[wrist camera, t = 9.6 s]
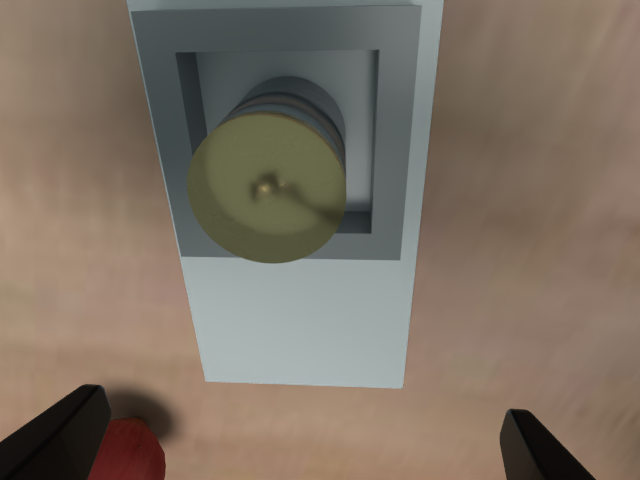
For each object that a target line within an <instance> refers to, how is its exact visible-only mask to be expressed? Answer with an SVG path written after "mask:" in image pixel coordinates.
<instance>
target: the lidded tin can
mask: <svg viewBox="0 0 640 480" xmlns="http://www.w3.org/2000/svg"><path fill="white" fill-rule="evenodd" d="M187 192H188V198H189V202H190V206H191V209H192V211H193V213H194V216H195V218H196V219H197V221H198V223H199V224H200V226H201V227H202V229H203V230H204V231H205V232H206V233H207V235H208V236H209V237H210V238H211V239H212V240H213V241H215V242H216V243H217V244H218V245H219V246H221V247H222V248H224V249H225V250H227V251H228V252H230V253H232V254H234V255H236V256H239V257H241V258H244V259H247V260H250V261H254V262H260V263H270V264H276V263H286V262H292V261H295V260H299V259H302V258H304V257H306V256H309V255H311V254H312V253H314V252H316V251H317V250H319V249H320V248H321V247H322V246H324V245H325V244H326V243H327V242H328V241H329V240H330V239H331V237H332V236H333V235H334V233H335V232H336V230H337V229H338V227H339V225H340V223H341V220H342V218H343V215H344V211H345V206H346V136H345V124H344V119H343V116H342V113H341V111H340V109H339V107H338V105H337V104H336V102H335V101H334V99H333V98H332V97H331V96H330V94H329V93H328V92H326V91H325V90H324V89H323V88H322V87H320V86H319V85H317V84H316V83H314V82H311V81H309V80H307V79H304V78H300V77H295V76H281V77H275V78H271V79H268V80H266V81H264V82H262V83H260V84H258V85H257V86H255V87H254V88H253V89H252V90H251V91H250V92H249V93H248V94H247V95H246V96H245V97H244V98H243V99H242V100H241V101H240V102H239V103H238V104H237V105H236V106H235V108H234V109H233V110H232V111H231V112H230V113H229V114H228V115H227V116H226V117H225V118H224V119H223V120H222V121H221V122H220V123H219V124H218V125H217V127H216V128H215V129H214V130H213V131H212V132H211V133H210V134H209V135H208V136H207V137H206V138H205V139H204V140H203V141H202V142H201V144H200V145H199V147H198V148H197V150H196V151H195V153H194V155H193V157H192V159H191V163H190V166H189V169H188V176H187Z"/></svg>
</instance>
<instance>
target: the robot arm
mask: <svg viewBox="0 0 640 480" xmlns="http://www.w3.org/2000/svg"><path fill="white" fill-rule="evenodd" d="M111 413H112V412H111V407H110V404H109V401H108V398H107V395H106V392H105V389H104V388H103V387H102V386H101V385H92V384H85V385H82V386H80V387H79V388H77V389H76V390H74V391H73V392H71V393H70V394H69V395H67V396H66V397H64V398H63V399H61V400H60V401H58V402H57V403H56V404H54V405H53V406H51V407H50V408H48V409H47V410H46V411H44V412H43V413H41V414H40V415H38V416H37V417H35V418H34V419H33V420H31V421H30V422H28V423H27V424H25V425H24V426H23V427H21V428H20V429H18V430H17V431H15V432H14V433H12V434H11V435H10V436H8V437H7V438H5V439H4V440H2V441H1V442H0V480H88V477H89V475H90V472H91V469H92V467H93V464H94V462H95V459H96V456H97V454H98V451H99V448H100V446H101V443H102V441H103V438H104V435H105V433H106V430H107V428H108V425H109V422H110V419H111ZM500 446H501V452H502V457H503V462H504V467H505V473H506V478H507V480H596V479H595V478H594V477H593V476H592V475H591V474H590V473H589V472H588V471H587V470H586V469H585V468H584V467H583V466H582V465H581V464H580V463H579V462H578V461H577V459H576V458H575V457H574V456H573V455H572V454H571V453H570V452H569V451H568V450H567V449H566V448H565V447H564V446H563V445H562V444H561V443H560V442H559V441H558V440H557V439H556V438H555V437H554V436H553V435H552V434H551V433H550V432H549V431H548V430H547V428H546V427H545V426H544V425H543V424H542V423H541V422H540V421H539V420H538V419H537V418H536V417H535V416H534V415H533V414H532V413H531V412H529V411H528V410H524V409H509V410H508V411H507V412H506V415H505V418H504V422H503V425H502V429H501V432H500Z"/></svg>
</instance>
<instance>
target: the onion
mask: <svg viewBox="0 0 640 480" xmlns="http://www.w3.org/2000/svg"><path fill="white" fill-rule="evenodd" d="M165 468H166V464H165V454H164V451H163V449H162V447H161V446H160V444H159V442H158V440H157V438H156V436H155V435H154V433H153V432H152V431H151V430H150V429H149V427H148V425H147V423H146V422H145V421H144V420H143V419H141V418H138V417H135V418H124V419H115V420H111V421H110V422H109V425H108V428H107V430H106V433H105V435H104V438H103V441H102V443H101V446H100V448H99V451H98V454H97V456H96V459H95V462H94V464H93V467H92V469H91V472H90V475H89V477H88V480H164V478H165Z"/></svg>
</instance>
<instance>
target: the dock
mask: <svg viewBox="0 0 640 480" xmlns="http://www.w3.org/2000/svg"><path fill="white" fill-rule="evenodd" d="M126 2H127V7H128V12H129V16H130V21H131V26H132V31H133V36H134V40H135V45H136V50H137V55H138V60H139V64H140V69H141V74H142V79H143V84H144V88H145V93H146V98H147V103H148V108H149V112H150V117H151V122H152V127H153V132H154V136H155V141H156V146H157V151H158V156H159V160H160V165H161V170H162V175H163V179H164V184H165V189H166V194H167V199H168V203H169V208H170V213H171V218H172V223H173V227H174V232H175V237H176V242H177V247H178V251H179V256H180V261H181V266H182V271H183V275H184V280H185V285H186V290H187V295H188V299H189V304H190V309H191V314H192V319H193V323H194V328H195V333H196V338H197V343H198V347H199V352H200V357H201V362H202V367H203V371H204V376H205V381H206V382H234V383H262V384H290V385H318V386H345V387H373V388H401V389H403V380H404V371H405V361H406V352H407V343H408V333H409V324H410V314H411V305H412V295H413V286H414V277H415V267H416V258H417V248H418V239H419V229H420V220H421V211H422V201H423V192H424V182H425V173H426V163H427V154H428V145H429V135H430V126H431V116H432V107H433V98H434V88H435V79H436V69H437V60H438V50H439V41H440V32H441V22H442V13H443V3H444V0H126ZM281 76H295V77H300V78H304V79H307V80H309V81H311V82H314V83H316V84H317V85H319V86H320V87H322V88H323V89H324V90H325V91H326V92H328V93H329V94H330V96H331V97H332V98H333V99H334V101H335V102H336V104H337V105H338V107H339V109H340V111H341V113H342V116H343V119H344V124H345V136H346V206H345V211H344V215H343V218H342V220H341V223H340V225H339V227H338V229H337V230H336V232H335V233H334V235H333V236H332V237H331V239H330V240H329V241H328V242H327V243H326V244H325V245H324V246H322V247H321V248H320V249H319V250H317V251H316V252H314V253H312V254H311V255H309V256H306V257H304V258H302V259H299V260H295V261H292V262H286V263H276V264H270V263H260V262H254V261H250V260H247V259H244V258H241V257H239V256H236V255H234V254H232V253H230V252H228V251H227V250H225V249H224V248H222V247H221V246H219V245H218V244H217V243H216V242H215V241H213V240H212V239H211V238H210V237H209V236H208V235H207V233H206V232H205V231H204V230H203V229H202V227H201V226H200V224H199V223H198V221H197V219H196V218H195V216H194V213H193V211H192V209H191V206H190V202H189V198H188V192H187V176H188V169H189V166H190V163H191V159H192V157H193V155H194V153H195V151H196V150H197V148H198V147H199V145H200V144H201V142H202V141H203V140H204V139H205V138H206V137H207V136H208V135H209V134H210V133H211V132H212V131H213V130H214V129H215V128H216V127H217V125H218V124H219V123H220V122H221V121H222V120H223V119H224V118H225V117H226V116H227V115H228V114H229V113H230V112H231V111H232V110H233V109H234V108H235V106H236V105H237V104H238V103H239V102H240V101H241V100H242V99H243V98H244V97H245V96H246V95H247V94H248V93H249V92H250V91H251V90H252V89H253V88H254V87H255V86H257V85H258V84H260V83H262V82H264V81H266V80H268V79H271V78H275V77H281Z"/></svg>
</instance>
